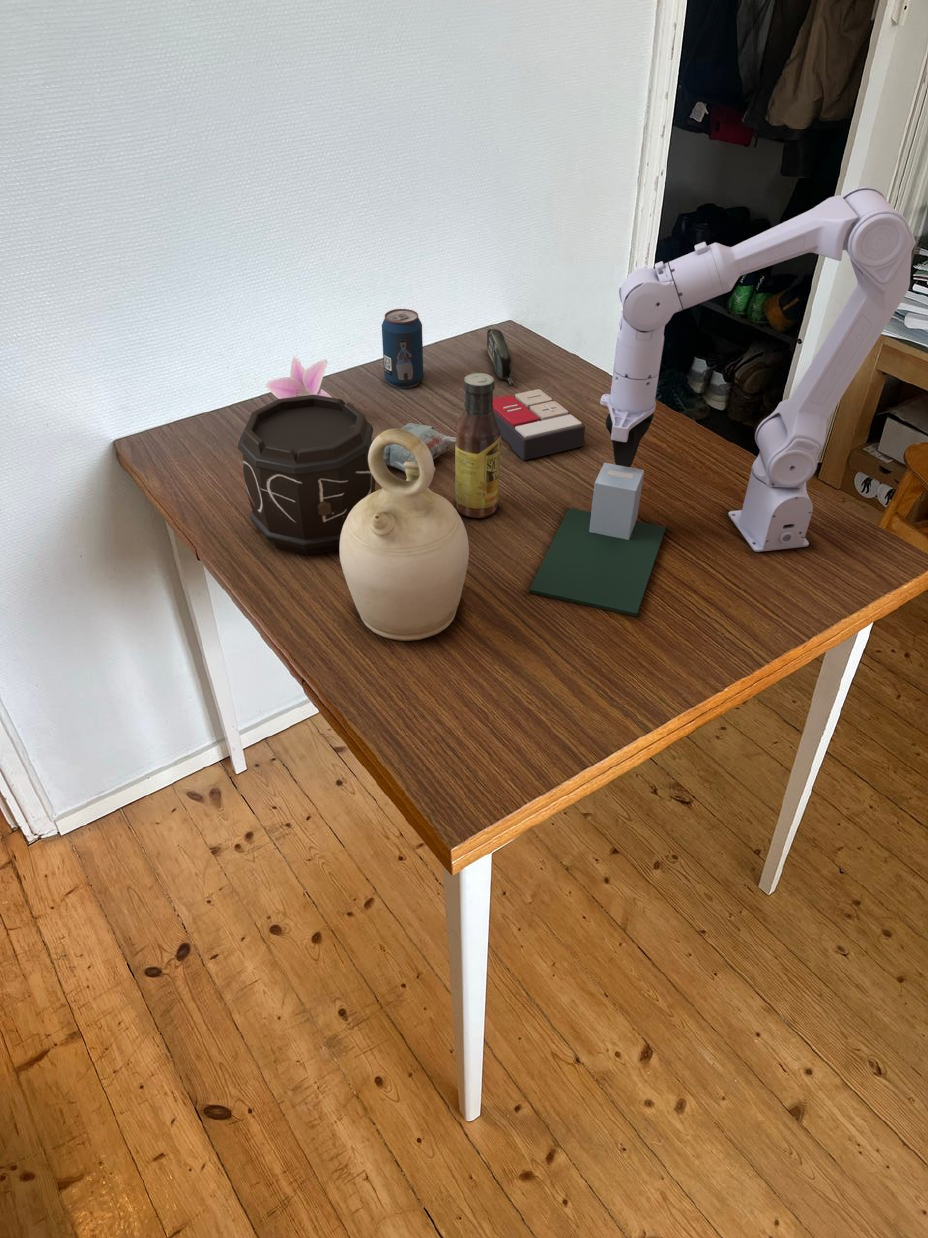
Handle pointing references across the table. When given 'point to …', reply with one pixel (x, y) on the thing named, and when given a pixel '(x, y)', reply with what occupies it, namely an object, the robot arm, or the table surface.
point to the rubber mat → (598, 565)
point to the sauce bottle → (477, 450)
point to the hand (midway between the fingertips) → (623, 463)
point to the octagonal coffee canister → (306, 470)
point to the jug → (404, 548)
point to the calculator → (537, 424)
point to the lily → (300, 381)
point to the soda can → (402, 348)
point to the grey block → (616, 500)
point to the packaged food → (427, 434)
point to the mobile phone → (499, 354)
